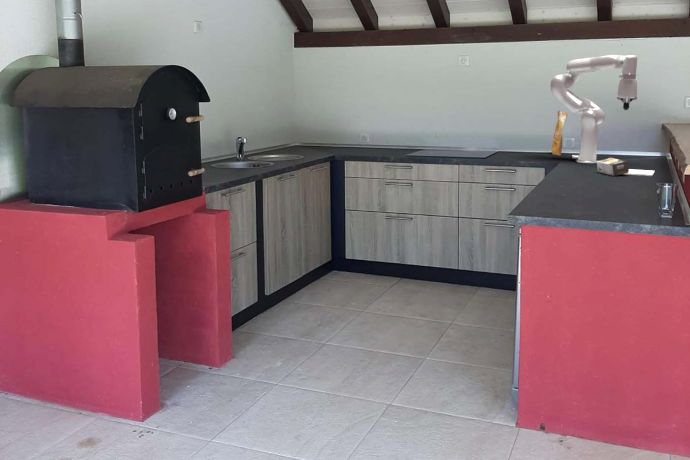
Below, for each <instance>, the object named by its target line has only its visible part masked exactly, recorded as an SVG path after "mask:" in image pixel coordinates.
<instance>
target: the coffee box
mask: <svg viewBox="0 0 690 460" xmlns="http://www.w3.org/2000/svg"><path fill="white" fill-rule="evenodd" d="M596 167H597V172H598V173H601V174H605V175H608V176H613V177H616V176H620V175H626V174H625V173H629V163H628V160H623V159H618V158H613V157H608V158H606V159H601V160H598V161H597V163H596Z"/></svg>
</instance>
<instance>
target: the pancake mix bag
mask: <svg viewBox="0 0 690 460" xmlns="http://www.w3.org/2000/svg"><path fill="white" fill-rule="evenodd" d="M567 118H568V113H567V112H566V111H563V110H558V111H557V118H556V125H555V129H554V133H553V138H552V146H551V155H553V156H561V155H562V151H563V130H564V126H565V122H566V121H567Z"/></svg>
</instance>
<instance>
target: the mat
mask: <svg viewBox="0 0 690 460" xmlns="http://www.w3.org/2000/svg"><path fill="white" fill-rule="evenodd" d="M654 173H655V170H645V169H631V168H630V169H629V173H625V174H624V175H629V176H644V177H652V176H653V175H654Z"/></svg>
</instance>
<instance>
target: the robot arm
mask: <svg viewBox="0 0 690 460" xmlns="http://www.w3.org/2000/svg"><path fill="white" fill-rule="evenodd" d="M637 67H638V56H637V55H635V54H633V55H631V54H629V55H620V54H610V55H603V56H592V57H585V58H584V57H583V58H577V59H572V60H569V61H568V62H567V63H566V71H567V72H566V73H565V74H563V73H562V74H561V73H560V74H557V75H555V76H553V78H552V79H551V81H550V92H551V93H552V95H553V96H554V97H555V98H556V99H557V100H558V101H559V102H561V104H563V105H564V106H565V107H566V108H568V110H570V111H571V112H572V113H573V114H575V115H581V117H580V124H581V126H580V127H581V130H580V131H581V132H580V147H579V148H580V149H579V154H572V155H571V156H572V159H576V162H577V163H582V164H597V161H599V160H598V159H597V149H598V139H599V137H598V135H599V128H598V125H600V124H602V123H603V122H605V119H606V115H605V112H604V111H603V109H601V107H599V106H598V105H597V104H595V103H594V102H593V101H591V100H590V99H589V98H586V97H579V96H577V95H576V94H575V92H572V91H571V90H570V88H572V86H574V85H575V84H576V83H577V81H578V80H579V79H580V78H581V77H582V76H583V75H584V74H587V73H593V72H596V71H601V70H608V69H609V70H610V69H621V70H622V71H621V75H618V78H619V79H620V80H619V81H618V87H617V97H616V99H617V100H619V101H621V102H622V103H623V108H622V109H624V111H628V110H629V109H630V103H632V101H635V100H637V99H638V96H637V95H638V81H637V78H636V77H637ZM626 98H627V101H626Z"/></svg>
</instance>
